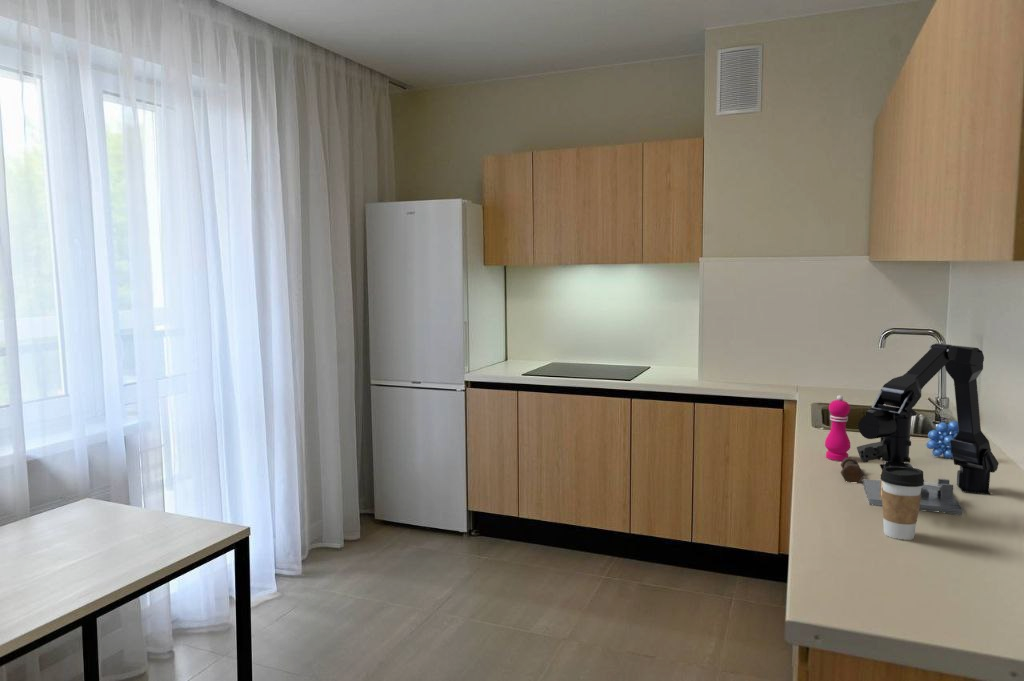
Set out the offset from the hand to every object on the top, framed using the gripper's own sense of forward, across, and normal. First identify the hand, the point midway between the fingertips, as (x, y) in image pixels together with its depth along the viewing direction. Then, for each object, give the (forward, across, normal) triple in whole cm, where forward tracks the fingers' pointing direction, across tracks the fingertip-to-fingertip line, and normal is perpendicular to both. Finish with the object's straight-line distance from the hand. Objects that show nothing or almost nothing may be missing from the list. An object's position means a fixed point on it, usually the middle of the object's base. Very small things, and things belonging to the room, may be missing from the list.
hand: (893, 496), depth 172 cm
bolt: (+3, -26, -7) cm, 28 cm away
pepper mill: (+3, -44, -10) cm, 46 cm away
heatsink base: (+3, -9, +5) cm, 11 cm away
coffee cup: (+3, +20, -1) cm, 20 cm away
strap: (0, -10, +7) cm, 12 cm away
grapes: (+3, -58, +22) cm, 62 cm away
